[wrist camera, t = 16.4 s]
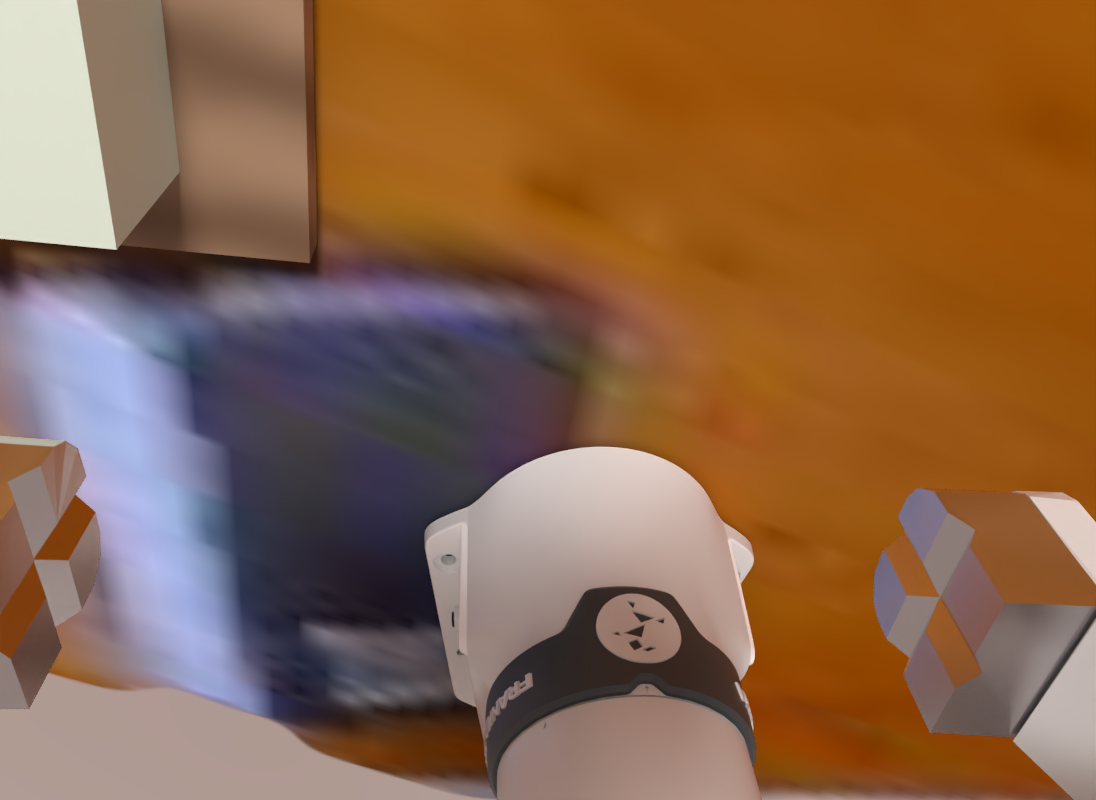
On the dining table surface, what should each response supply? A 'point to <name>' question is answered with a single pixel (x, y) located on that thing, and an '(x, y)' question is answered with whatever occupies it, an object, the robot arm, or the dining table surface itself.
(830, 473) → the dining table surface
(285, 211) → the shelf
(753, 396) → the dining table surface
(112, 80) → the carton
